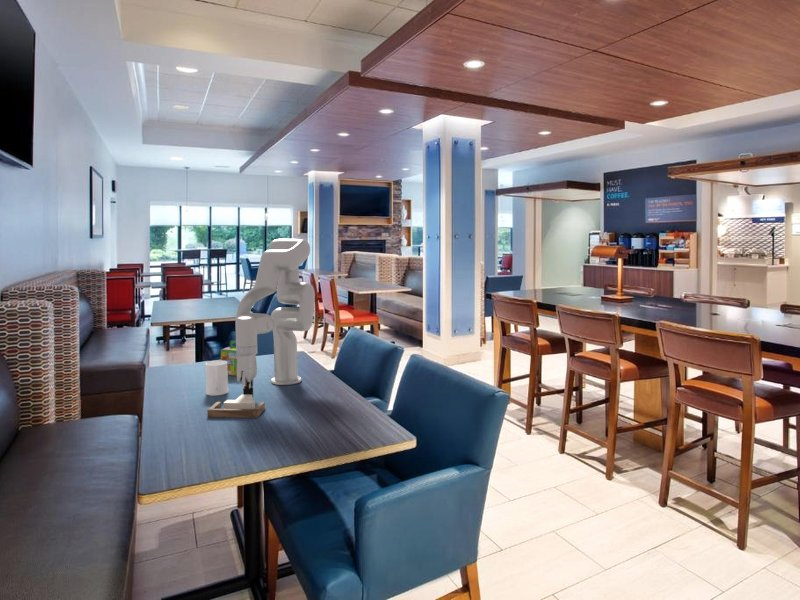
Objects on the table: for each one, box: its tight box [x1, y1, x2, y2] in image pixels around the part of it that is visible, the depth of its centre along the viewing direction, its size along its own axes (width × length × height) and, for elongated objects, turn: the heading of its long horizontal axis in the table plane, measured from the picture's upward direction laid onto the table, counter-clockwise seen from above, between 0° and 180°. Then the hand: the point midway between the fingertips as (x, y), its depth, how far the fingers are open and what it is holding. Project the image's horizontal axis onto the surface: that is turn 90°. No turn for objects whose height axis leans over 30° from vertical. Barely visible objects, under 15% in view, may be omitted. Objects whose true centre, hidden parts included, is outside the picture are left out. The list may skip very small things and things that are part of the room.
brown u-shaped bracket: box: [206, 401, 265, 419], centre depth 182 cm, size 9×17×2 cm, turn 89°
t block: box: [223, 394, 256, 409], centre depth 188 cm, size 10×10×3 cm
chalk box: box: [220, 340, 238, 377], centre depth 234 cm, size 9×9×15 cm
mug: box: [205, 359, 230, 396], centre depth 204 cm, size 12×8×12 cm
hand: (248, 398), depth 195 cm, fingers closed
